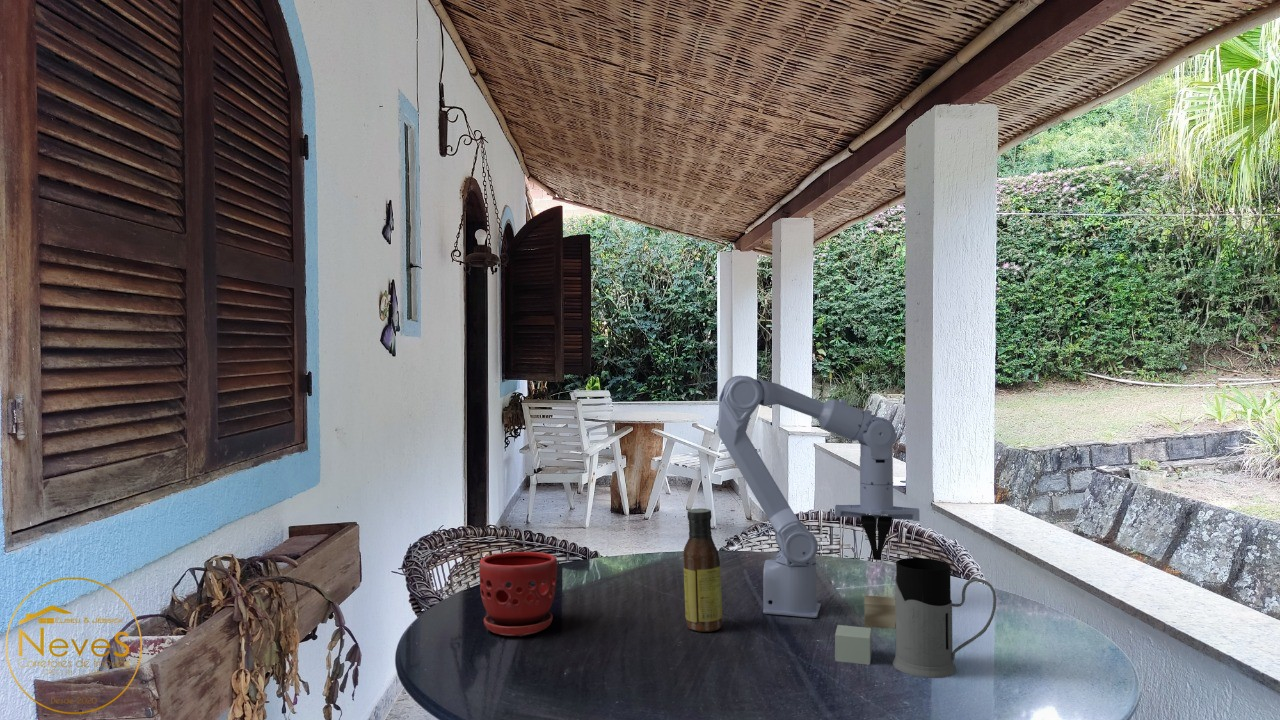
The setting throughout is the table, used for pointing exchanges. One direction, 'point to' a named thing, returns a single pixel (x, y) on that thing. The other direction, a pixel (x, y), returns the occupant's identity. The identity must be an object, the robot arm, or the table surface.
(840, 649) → the sage block
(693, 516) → the sauce bottle
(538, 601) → the plant pot
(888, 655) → the table surface
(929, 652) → the glass holder
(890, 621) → the birch block
